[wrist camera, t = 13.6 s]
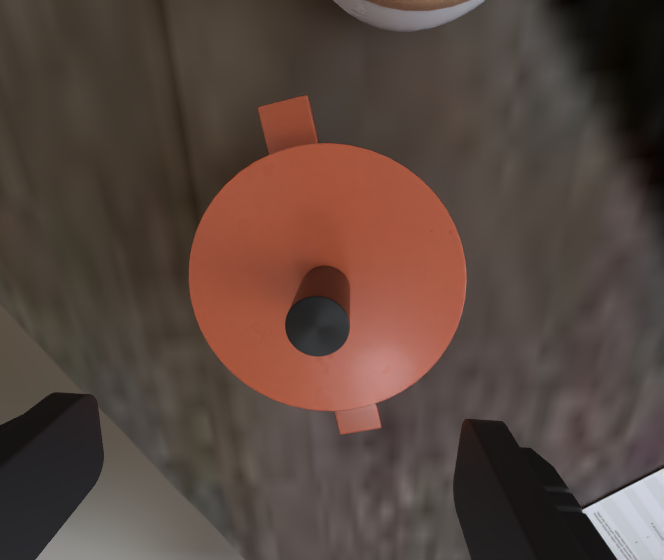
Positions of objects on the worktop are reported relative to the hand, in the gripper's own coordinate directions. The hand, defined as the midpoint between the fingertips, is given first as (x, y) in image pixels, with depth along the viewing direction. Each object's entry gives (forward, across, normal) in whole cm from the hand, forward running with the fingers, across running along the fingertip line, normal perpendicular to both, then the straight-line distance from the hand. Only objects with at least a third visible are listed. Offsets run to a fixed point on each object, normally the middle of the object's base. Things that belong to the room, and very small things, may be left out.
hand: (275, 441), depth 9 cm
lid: (+12, 0, 0) cm, 12 cm away
